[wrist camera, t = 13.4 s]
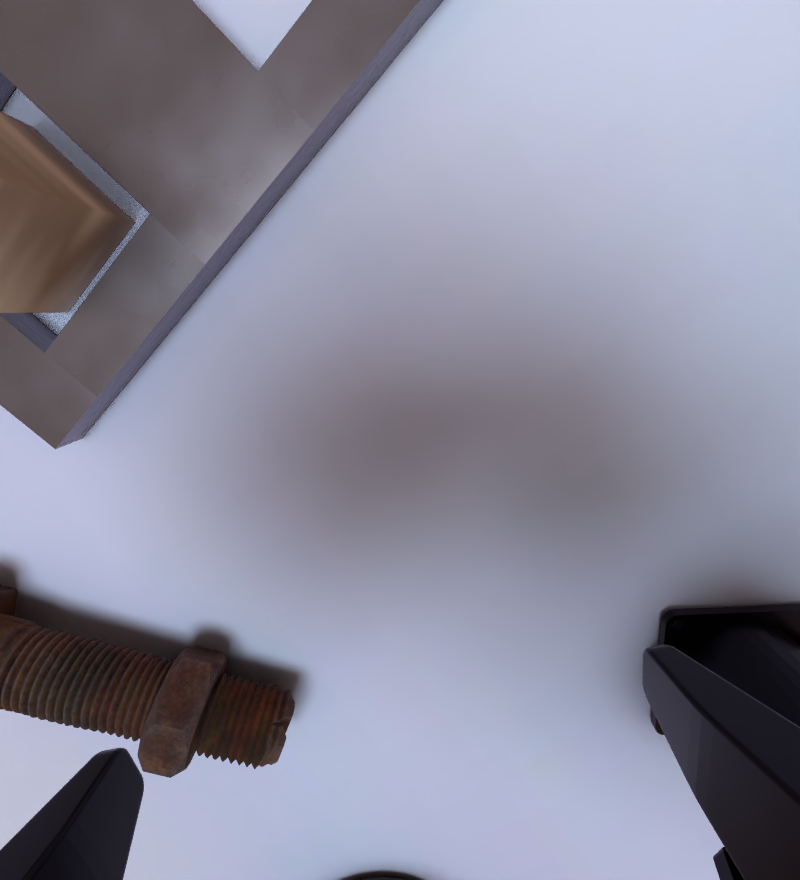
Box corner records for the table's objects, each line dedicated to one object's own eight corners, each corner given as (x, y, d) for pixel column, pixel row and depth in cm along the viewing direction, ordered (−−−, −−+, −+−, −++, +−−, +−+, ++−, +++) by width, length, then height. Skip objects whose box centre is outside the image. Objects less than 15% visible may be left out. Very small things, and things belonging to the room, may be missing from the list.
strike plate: (246, -459, 13) (215, -606, 11) (522, -97, 15) (540, -162, 12) (-166, 236, 17) (-241, 227, 15) (81, 438, 19) (43, 453, 17)
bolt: (298, 678, 25) (3, 602, 23) (313, 645, 21) (-35, 553, 20) (259, 818, 21) (-103, 737, 19) (269, 805, 17) (-174, 705, 16)
